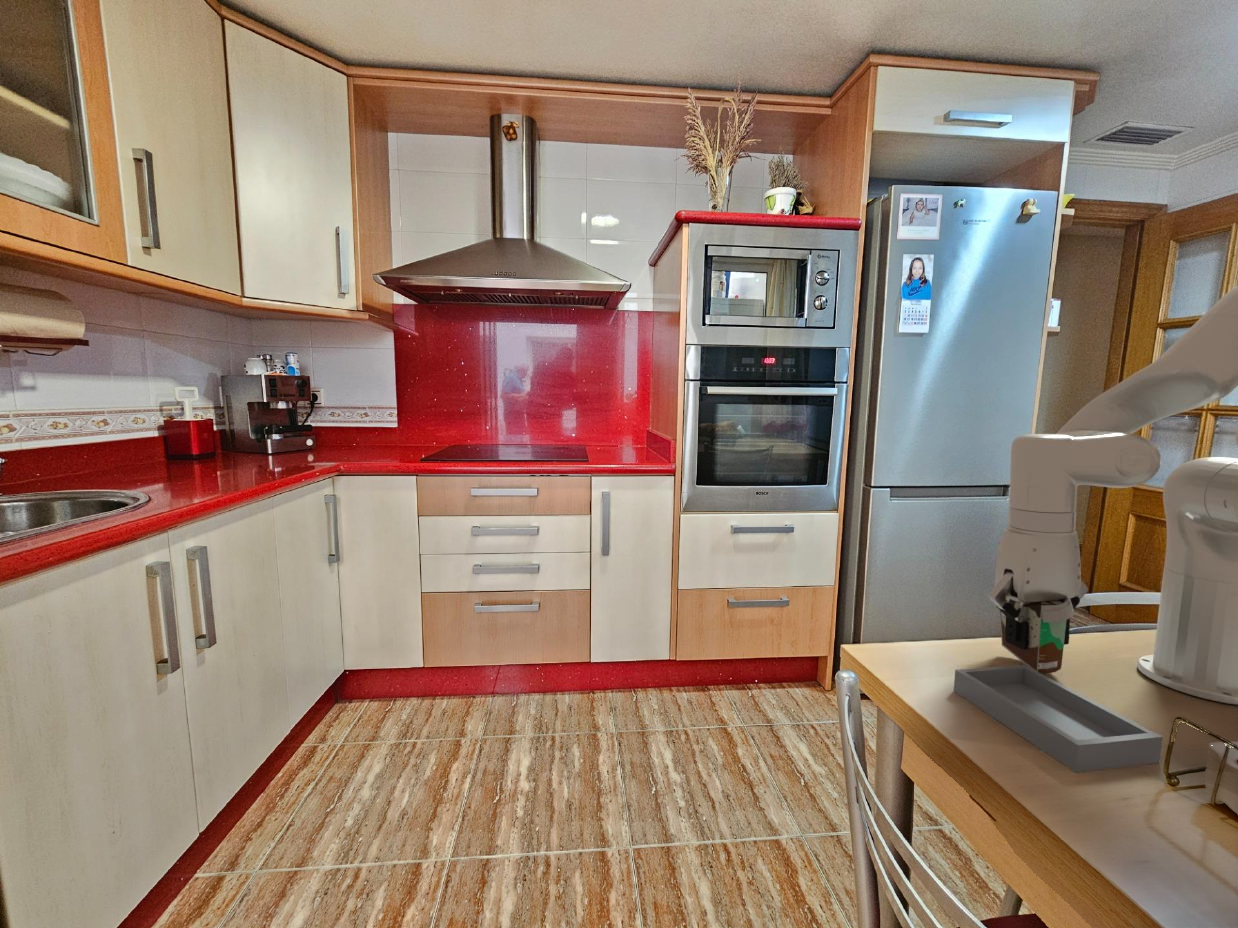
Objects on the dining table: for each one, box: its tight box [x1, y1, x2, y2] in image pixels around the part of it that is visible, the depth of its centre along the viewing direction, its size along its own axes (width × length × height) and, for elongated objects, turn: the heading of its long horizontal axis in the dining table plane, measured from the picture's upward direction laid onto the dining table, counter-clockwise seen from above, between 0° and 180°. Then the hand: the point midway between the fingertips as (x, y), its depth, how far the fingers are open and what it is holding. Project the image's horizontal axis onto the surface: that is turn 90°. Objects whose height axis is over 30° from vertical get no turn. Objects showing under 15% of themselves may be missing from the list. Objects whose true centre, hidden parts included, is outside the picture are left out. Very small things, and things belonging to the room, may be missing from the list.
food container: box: [999, 595, 1074, 675], centre depth 79 cm, size 12×6×10 cm, turn 171°
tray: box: [953, 664, 1163, 773], centre depth 66 cm, size 11×17×3 cm, turn 9°
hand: (1036, 641), depth 79 cm, fingers closed on food container, 6 cm apart
